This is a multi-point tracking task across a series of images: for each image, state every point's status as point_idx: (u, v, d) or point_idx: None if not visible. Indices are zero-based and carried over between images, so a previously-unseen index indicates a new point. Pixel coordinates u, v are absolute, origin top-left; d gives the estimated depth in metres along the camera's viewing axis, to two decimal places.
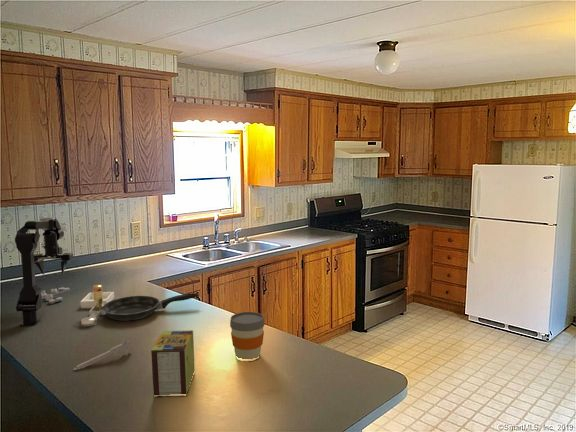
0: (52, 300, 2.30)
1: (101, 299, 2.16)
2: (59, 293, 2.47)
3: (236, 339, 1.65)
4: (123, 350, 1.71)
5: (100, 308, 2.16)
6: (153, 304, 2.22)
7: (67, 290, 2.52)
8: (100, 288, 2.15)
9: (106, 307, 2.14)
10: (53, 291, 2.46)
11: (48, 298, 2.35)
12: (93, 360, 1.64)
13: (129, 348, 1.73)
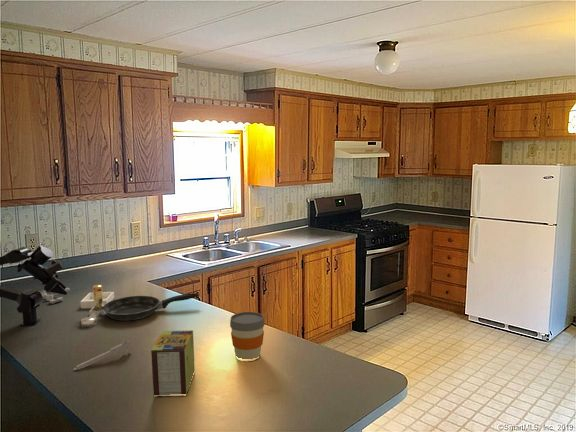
0: (53, 300, 2.30)
1: (101, 299, 2.16)
2: None
3: (236, 339, 1.65)
4: (123, 350, 1.71)
5: (100, 308, 2.16)
6: (153, 304, 2.22)
7: (67, 290, 2.52)
8: (100, 288, 2.15)
9: (106, 307, 2.14)
10: None
11: (49, 298, 2.35)
12: (93, 360, 1.64)
13: (129, 348, 1.73)
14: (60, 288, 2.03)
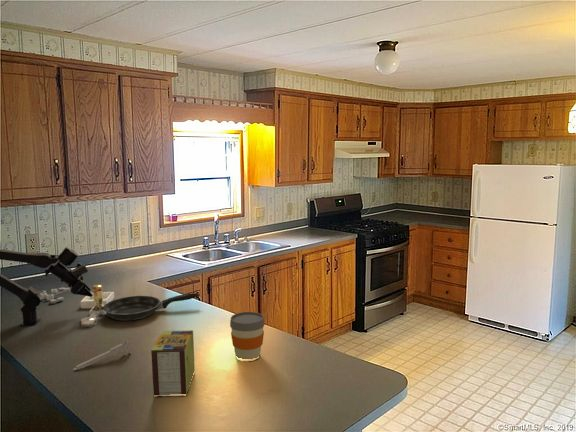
0: (53, 300, 2.30)
1: (101, 299, 2.16)
2: (59, 293, 2.47)
3: (236, 339, 1.65)
4: (123, 350, 1.71)
5: (100, 308, 2.16)
6: (154, 304, 2.22)
7: (67, 290, 2.52)
8: (100, 288, 2.15)
9: (107, 307, 2.14)
10: (53, 291, 2.46)
11: (49, 298, 2.35)
12: (93, 360, 1.64)
13: (129, 348, 1.73)
14: (86, 290, 2.08)
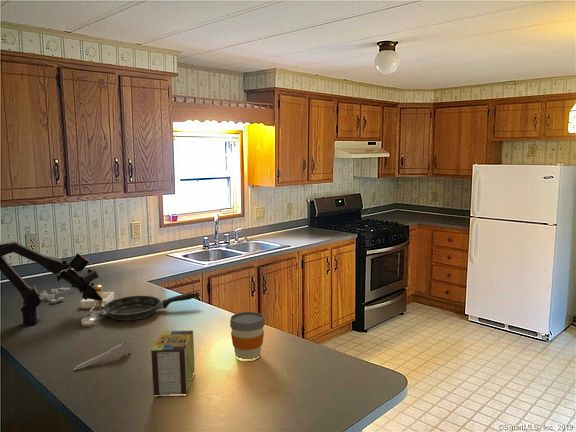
0: (54, 300, 2.31)
1: None
2: (60, 293, 2.47)
3: (236, 339, 1.65)
4: (123, 350, 1.71)
5: (100, 308, 2.16)
6: (154, 304, 2.22)
7: (67, 290, 2.52)
8: (100, 288, 2.15)
9: (107, 307, 2.14)
10: (54, 291, 2.46)
11: (49, 298, 2.35)
12: (93, 360, 1.64)
13: (129, 348, 1.73)
14: (96, 294, 2.13)
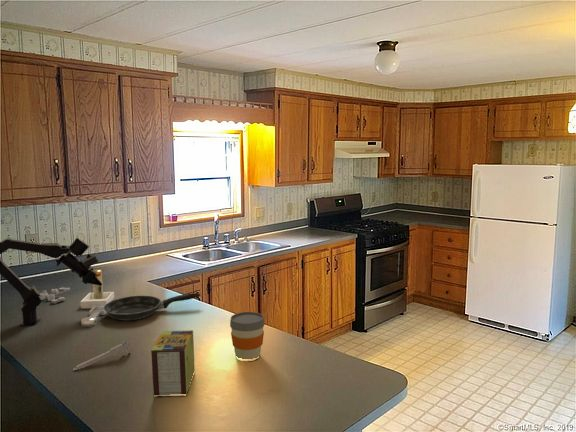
0: (55, 300, 2.31)
1: None
2: (60, 293, 2.47)
3: (236, 339, 1.65)
4: (123, 350, 1.71)
5: (100, 293, 2.16)
6: (154, 304, 2.22)
7: (68, 290, 2.52)
8: (100, 273, 2.15)
9: (108, 307, 2.14)
10: (54, 291, 2.46)
11: (50, 298, 2.35)
12: (93, 360, 1.64)
13: (129, 348, 1.73)
14: (96, 279, 2.13)
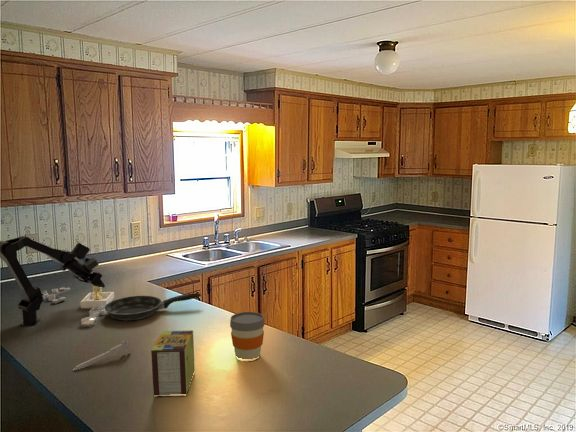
0: (56, 300, 2.31)
1: (101, 288, 2.30)
2: (60, 293, 2.47)
3: (236, 339, 1.65)
4: (123, 350, 1.71)
5: (100, 297, 2.30)
6: (155, 304, 2.22)
7: (68, 290, 2.52)
8: None
9: (108, 307, 2.15)
10: (54, 291, 2.46)
11: (51, 298, 2.35)
12: (92, 360, 1.64)
13: (129, 348, 1.72)
14: (101, 281, 2.25)
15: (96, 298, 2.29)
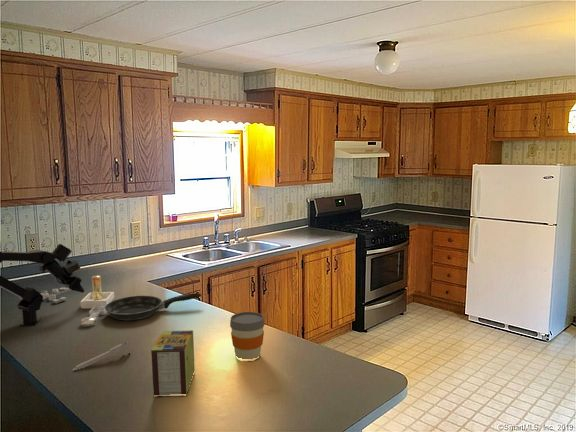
0: (56, 300, 2.31)
1: (100, 288, 2.30)
2: (61, 292, 2.47)
3: (236, 339, 1.65)
4: (122, 350, 1.71)
5: (100, 297, 2.30)
6: (155, 304, 2.22)
7: (68, 290, 2.52)
8: (100, 278, 2.29)
9: (109, 307, 2.15)
10: (55, 291, 2.46)
11: (51, 298, 2.35)
12: (92, 360, 1.64)
13: (128, 348, 1.72)
14: (80, 286, 2.17)
15: (96, 298, 2.29)
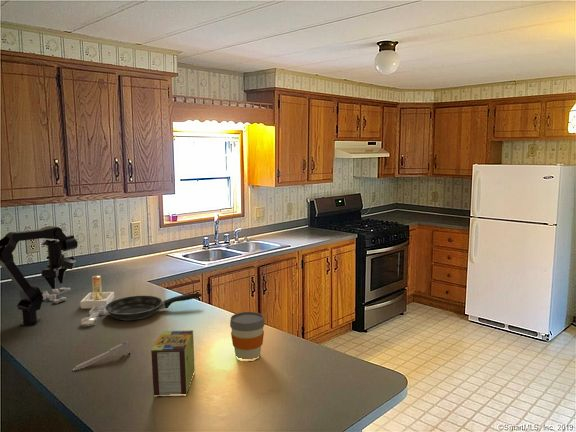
0: (57, 300, 2.31)
1: (101, 288, 2.30)
2: (61, 293, 2.47)
3: (236, 339, 1.65)
4: (122, 350, 1.71)
5: (100, 297, 2.30)
6: (156, 304, 2.22)
7: (68, 290, 2.52)
8: (100, 278, 2.29)
9: (109, 307, 2.15)
10: (55, 291, 2.46)
11: (52, 298, 2.35)
12: (92, 360, 1.64)
13: (128, 348, 1.72)
14: (53, 281, 2.10)
15: (96, 298, 2.29)
